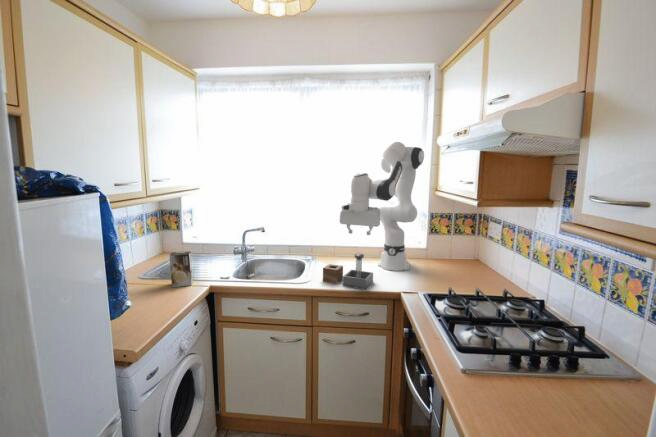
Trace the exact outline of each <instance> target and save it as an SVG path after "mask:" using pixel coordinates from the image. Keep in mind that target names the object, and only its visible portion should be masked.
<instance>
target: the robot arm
mask: <svg viewBox="0 0 656 437" xmlns="http://www.w3.org/2000/svg"><path fill="white" fill-rule="evenodd" d="M424 158H425V152H424V150H423V148H422V147H421V148H420V147H417V146H415V147H412V146H405V144H403V143H402V142H401V141H395V142H393V143H391V144H390V145H389V146H387V148H386V149H385V150H384V151H383V153H382V154H381V155H380V157H379V165H380V168H381V169H382V171H384V172H385V173H388V174H389V175H388V176H387V178H385V179H372V178H370V177H369V174H368V173H366V172H359V173H355V174H353V175H352V178H351V185H350V189H351V190H350V192H351V198H350V203H349V202H348V203H346V204H344V205H341V211H340V213H339V223H340V224H341V225H346V229H347V230H348V234H349V235H350V234H353V229H352V228H351V226H361V227H368V230H367V231H366V236H371V232H372V230H373V229H374V228H376V227H380V226H381V223H382V226H383V228H384V237H385V238H384V244H383V250H384V251H382V252H381V253H380V262H379V263H378V264H377V265H378V267H381V268H382V269H384V270H387V271H396V272H397V271H409V270H410V262H409V261H408V260H407V253H406V251H405V250H406V246H405V231H404V229H403V228H401V227H400V226H399V224H398V223H405V224H406V223H413V222H414V221H416V219H417V217H418V210H417V207H416V206H415V205H414V204H413V202H412V192H413V189H414V186H415V185H414V184H415V181H416V174H417V173H416V172H417V169H418V168H419V167H420V166H421V165H422V164H423V163H424ZM393 197H395V198H397V201H396V202H390V201H389V200H392V198H393ZM370 200H380V201H383V202H379V203H378V204H377V205H376V206H375V207H373V206H370Z"/></svg>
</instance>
